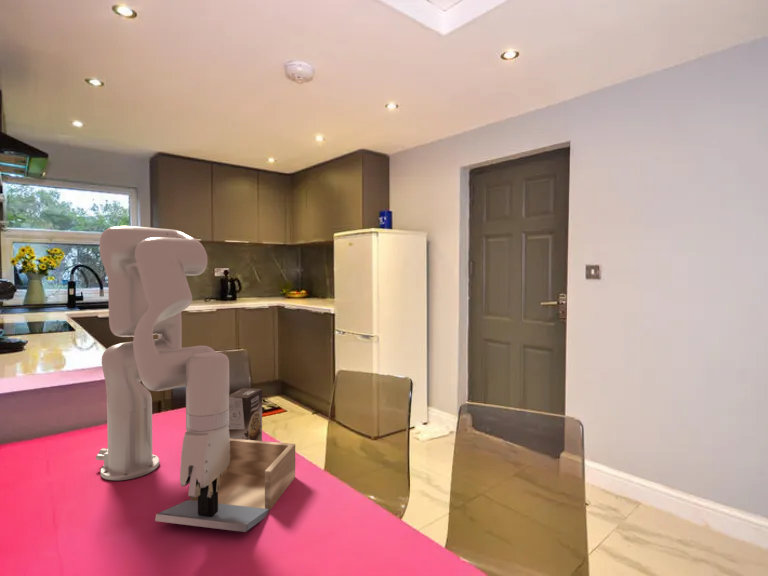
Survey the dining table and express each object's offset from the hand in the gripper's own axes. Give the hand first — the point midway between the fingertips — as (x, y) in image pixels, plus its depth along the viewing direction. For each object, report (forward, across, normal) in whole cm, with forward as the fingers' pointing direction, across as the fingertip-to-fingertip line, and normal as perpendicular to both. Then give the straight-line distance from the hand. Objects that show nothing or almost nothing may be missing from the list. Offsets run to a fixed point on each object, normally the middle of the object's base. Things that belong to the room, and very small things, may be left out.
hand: (207, 513), depth 82 cm
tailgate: (+3, -7, 0) cm, 7 cm away
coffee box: (+4, -36, -10) cm, 38 cm away
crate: (+4, -15, 0) cm, 15 cm away
